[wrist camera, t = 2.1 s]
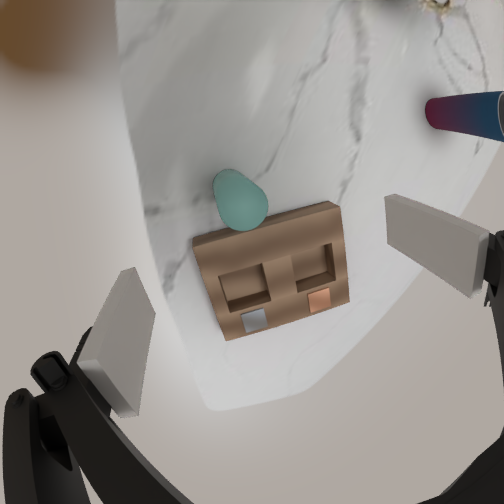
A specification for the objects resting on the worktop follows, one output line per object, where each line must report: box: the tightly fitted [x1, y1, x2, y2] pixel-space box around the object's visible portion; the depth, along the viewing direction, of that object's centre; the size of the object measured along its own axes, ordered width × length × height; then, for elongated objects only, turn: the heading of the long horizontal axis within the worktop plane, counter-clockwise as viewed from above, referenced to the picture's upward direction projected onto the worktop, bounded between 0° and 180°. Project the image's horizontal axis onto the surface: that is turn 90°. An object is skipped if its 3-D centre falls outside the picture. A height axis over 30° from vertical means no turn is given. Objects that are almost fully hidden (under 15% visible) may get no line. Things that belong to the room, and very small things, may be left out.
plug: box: [213, 169, 268, 231], centre depth 28 cm, size 4×4×12 cm
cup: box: [425, 91, 504, 142], centre depth 27 cm, size 7×7×15 cm
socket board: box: [192, 201, 350, 341], centre depth 37 cm, size 14×18×4 cm
